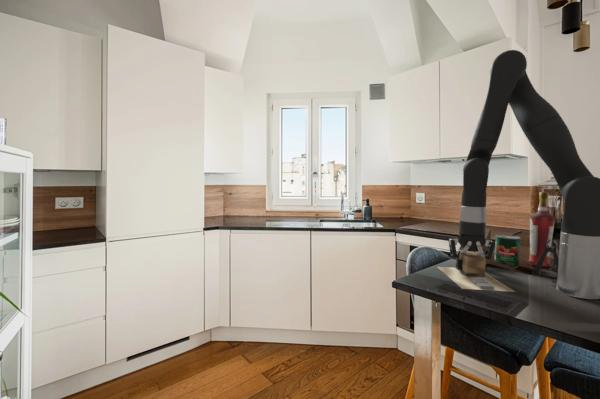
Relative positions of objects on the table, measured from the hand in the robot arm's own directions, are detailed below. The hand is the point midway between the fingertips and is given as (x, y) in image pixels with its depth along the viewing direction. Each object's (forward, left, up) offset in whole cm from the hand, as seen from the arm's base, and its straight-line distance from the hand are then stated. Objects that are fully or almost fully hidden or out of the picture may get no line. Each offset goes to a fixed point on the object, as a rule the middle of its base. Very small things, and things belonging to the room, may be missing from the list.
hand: (469, 270), depth 101 cm
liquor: (-32, -18, -2) cm, 37 cm away
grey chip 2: (+2, +14, -1) cm, 14 cm away
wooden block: (-7, -11, -2) cm, 14 cm away
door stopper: (-28, -6, -2) cm, 29 cm away
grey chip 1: (+2, +11, -1) cm, 11 cm away
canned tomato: (-20, -17, -2) cm, 27 cm away
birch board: (+2, +6, -2) cm, 6 cm away
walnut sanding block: (0, 0, -1) cm, 1 cm away
